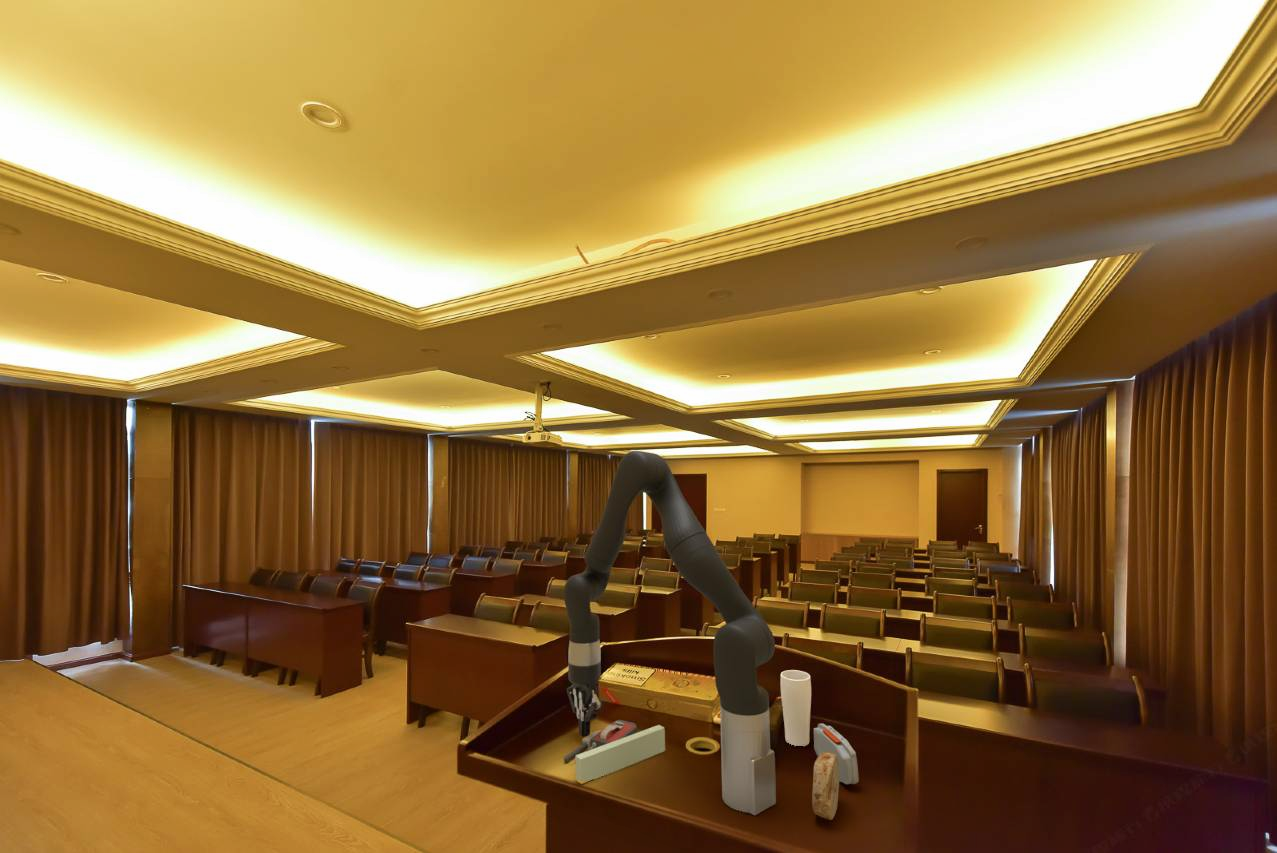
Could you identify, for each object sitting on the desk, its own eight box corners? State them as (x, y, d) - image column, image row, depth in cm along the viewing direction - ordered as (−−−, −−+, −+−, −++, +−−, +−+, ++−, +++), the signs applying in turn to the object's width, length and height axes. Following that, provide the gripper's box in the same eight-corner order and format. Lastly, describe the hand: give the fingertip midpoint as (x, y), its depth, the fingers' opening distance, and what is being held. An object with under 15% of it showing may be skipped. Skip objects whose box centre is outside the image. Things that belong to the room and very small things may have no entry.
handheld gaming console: (860, 792, 112) (859, 749, 113) (846, 793, 112) (845, 751, 112) (823, 755, 126) (822, 717, 127) (811, 757, 126) (809, 718, 126)
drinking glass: (818, 741, 132) (815, 674, 133) (804, 752, 127) (801, 682, 128) (791, 732, 137) (789, 667, 138) (776, 742, 132) (774, 675, 133)
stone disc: (822, 795, 111) (820, 741, 112) (842, 801, 109) (840, 746, 110) (809, 825, 102) (807, 766, 102) (831, 831, 100) (829, 771, 101)
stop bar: (665, 751, 129) (664, 727, 129) (580, 785, 116) (580, 759, 116) (659, 747, 131) (658, 724, 131) (575, 781, 117) (575, 755, 117)
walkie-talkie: (610, 728, 142) (560, 765, 124) (610, 709, 142) (560, 744, 125) (641, 735, 138) (594, 775, 120) (641, 716, 138) (594, 753, 120)
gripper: (613, 663, 133) (613, 741, 132) (583, 648, 143) (582, 720, 142) (586, 670, 128) (586, 751, 127) (556, 654, 139) (556, 729, 138)
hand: (584, 735), depth 135 cm, fingers closed
